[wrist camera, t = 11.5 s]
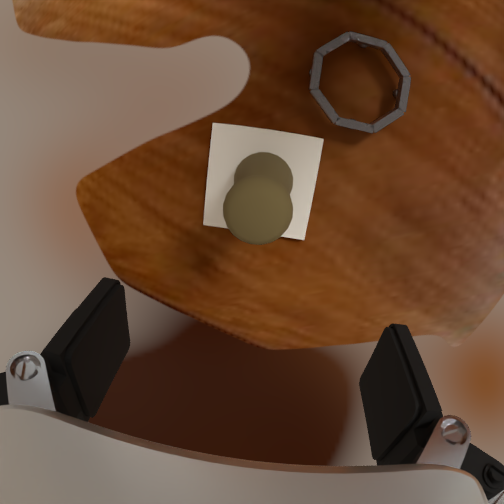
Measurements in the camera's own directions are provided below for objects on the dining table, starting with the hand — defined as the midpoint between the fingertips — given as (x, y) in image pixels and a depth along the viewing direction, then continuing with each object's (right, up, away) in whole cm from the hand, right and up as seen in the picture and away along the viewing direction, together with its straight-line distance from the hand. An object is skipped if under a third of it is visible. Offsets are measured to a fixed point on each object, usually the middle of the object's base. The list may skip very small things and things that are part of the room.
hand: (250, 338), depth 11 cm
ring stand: (+10, +20, +17) cm, 28 cm away
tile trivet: (+1, +10, +22) cm, 24 cm away
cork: (+1, +10, +22) cm, 24 cm away
